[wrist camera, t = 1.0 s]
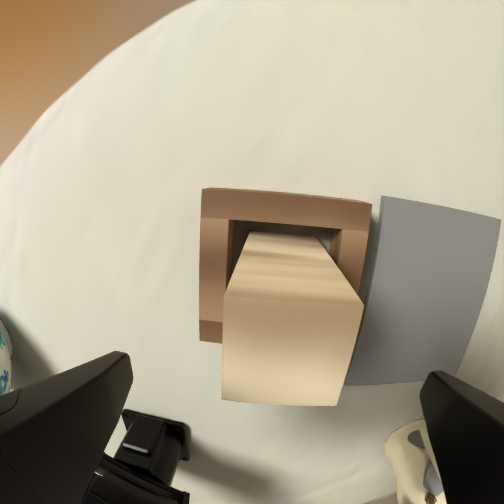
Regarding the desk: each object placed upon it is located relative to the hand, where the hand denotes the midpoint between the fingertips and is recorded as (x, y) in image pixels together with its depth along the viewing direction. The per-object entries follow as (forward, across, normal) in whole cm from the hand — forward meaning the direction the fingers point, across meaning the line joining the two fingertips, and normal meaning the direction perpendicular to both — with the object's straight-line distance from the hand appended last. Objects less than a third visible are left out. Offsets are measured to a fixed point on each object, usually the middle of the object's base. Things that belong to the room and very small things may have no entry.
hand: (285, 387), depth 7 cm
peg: (+11, 0, 0) cm, 11 cm away
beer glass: (+11, -16, +18) cm, 27 cm away
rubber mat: (+11, -12, +2) cm, 16 cm away
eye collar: (+11, 0, 0) cm, 11 cm away
